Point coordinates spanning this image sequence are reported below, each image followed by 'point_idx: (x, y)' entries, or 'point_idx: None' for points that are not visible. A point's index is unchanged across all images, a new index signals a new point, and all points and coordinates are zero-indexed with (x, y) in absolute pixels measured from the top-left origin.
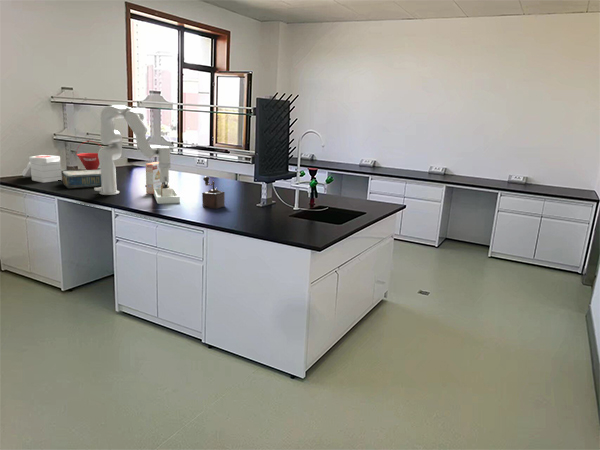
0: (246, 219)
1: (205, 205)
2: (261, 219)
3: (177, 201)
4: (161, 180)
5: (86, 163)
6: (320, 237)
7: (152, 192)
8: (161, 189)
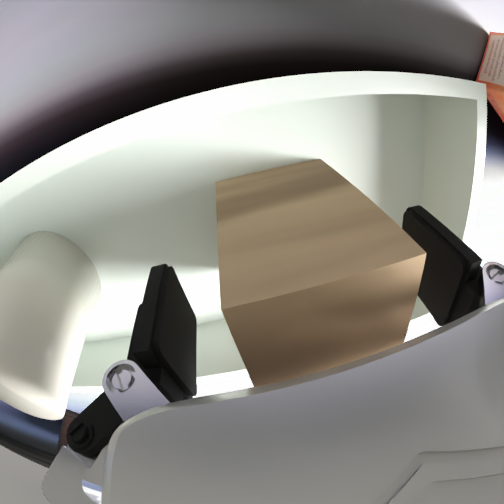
0: (20, 435)
1: (62, 421)
2: (39, 447)
3: None
4: (106, 494)
5: None
6: (11, 449)
7: (487, 78)
8: (220, 246)
